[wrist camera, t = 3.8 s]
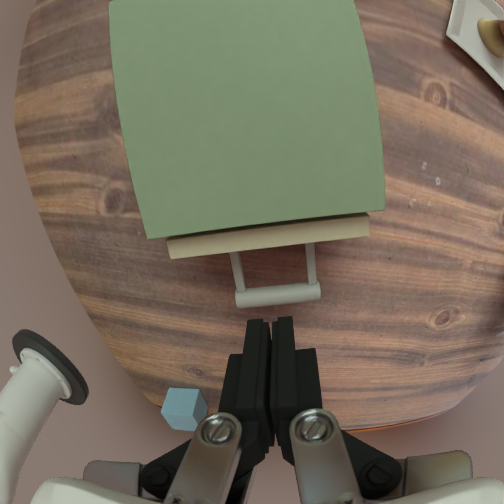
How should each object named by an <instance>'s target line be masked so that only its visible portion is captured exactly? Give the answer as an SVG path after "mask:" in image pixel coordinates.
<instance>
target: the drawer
mask: <svg viewBox="0 0 504 504" xmlns="http://www.w3.org/2000/svg"><path fill="white" fill-rule="evenodd" d="M369 235H370V220H369V215H368V214H367V213H366V212H361V213H351V214H342V215H332V216H323V217H314V218H305V219H296V220H288V221H279V222H271V223H263V224H255V225H248V226H240V227H232V228H225V229H218V230H210V231H203V232H196V233H189V234H182V235H176V236H169V238H168V239H167V240H166V244H167V248H168V251H169V255H170V258H171V259H177V258H186V257H194V256H203V255H211V254H220V253H228V252H229V255H230V260H231V265H232V269H233V274H234V279H235V283H236V288H237V290H236V291H235V302H236V306H237V308H250V307H261V306H272V305H282V304H291V303H300V302H309V301H317V300H321V291H320V284H319V281H317V278H316V261H315V247H314V242H322V241H331V240H339V239H348V238H357V237H365V236H369ZM296 244H305V254H306V266H307V279H308V282H303V283H294V284H285V285H276V286H267V287H257V288H247V289H246V283H245V278H244V273H243V268H242V263H241V258H240V253H239V251H245V250H253V249H262V248H271V247H279V246H288V245H296Z"/></svg>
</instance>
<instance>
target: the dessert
mask: <svg viewBox="0 0 504 504" xmlns="http://www.w3.org/2000/svg"><path fill="white" fill-rule="evenodd" d="M446 35H447V36H448V37H449V38H450V39H452V40H453V41H454V42H455V43H456V44H458V45H459V46H460V47H461V48H462V49H463V50H464V51H466V52H467V53H468V54H469V55H470V56H471V57H472V58H473V59H474V60H475V61H476V62H477V63H478V64H479V65H480V66H481V67H482V68H483V69H484V70H485V71H486V72H487V73H488V74H489V75H490V76H491V77H492V78H493V79H494V80H495V81H496V82H497V83H498V84H499V86H500V87H501V88H502V89H503V90H504V10H503V9H502V7H501V6H500V5H499V4H498V3H497V2H496V1H495V0H454V3H453V8H452V12H451V16H450V21H449V25H448V28H447V32H446Z"/></svg>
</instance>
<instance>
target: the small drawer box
mask: <svg viewBox="0 0 504 504" xmlns="http://www.w3.org/2000/svg"><path fill="white" fill-rule="evenodd" d="M109 28H110V44H111V56H112V67H113V76H114V84H115V92H116V99H117V106H118V112H119V118H120V124H121V130H122V135H123V140H124V146H125V151H126V155H127V160H128V165H129V169H130V174H131V178H132V182H133V187H134V191H135V195H136V199H137V203H138V206H139V210H140V214H141V218H142V221H143V225H144V228H145V232H146V235H147V239H148V240H149V239H156V238H162V237H169V236H176V235H182V234H189V233H196V232H203V231H210V230H218V229H225V228H232V227H240V226H248V225H255V224H263V223H271V222H279V221H288V220H296V219H305V218H314V217H323V216H332V215H342V214H351V213H361V212H372V211H382V210H385V179H384V161H383V148H382V137H381V127H380V119H379V111H378V104H377V97H376V91H375V85H374V80H373V74H372V69H371V64H370V60H369V55H368V51H367V46H366V42H365V38H364V34H363V30H362V27H361V23H360V20H359V16H358V13H357V9H356V6H355V3H354V0H114V1H111V2H109Z"/></svg>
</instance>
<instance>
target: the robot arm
mask: <svg viewBox="0 0 504 504" xmlns="http://www.w3.org/2000/svg"><path fill="white" fill-rule="evenodd" d="M20 358H21V361H22V364H21V365H20V367H16V366H11V367H10V372H11V373H12V374H13V376H12V377H11V379H10V380H9V381H8V383H7V384H6V385H5V387H4V388H3V390H2V391H1V393H0V504H11V503H12V502H13V499H14V496H15V492H16V487H17V483H18V479H19V475H20V471H21V469H22V466H23V464H24V462H25V460H26V458H27V455H28V454H29V451H30V450H31V448H32V446H33V444H34V442H35V440H36V438H37V437H38V435H39V432H40V431H41V429H42V427H43V426H44V424H45V422H46V420H47V419H48V417H49V415H50V413H51V412H52V410H53V408H54V407H55V405H56V403H57V402H58V400H59V398H63V399H68V398H69V397H70V396H71V394H72V388H71V386H70V384H69V382H68V381H67V379H66V378H65V376H64V375H63V374H62V373H61V372H60V371H59V370H58V368H57V367H56V366H55V365H53V364H52V363H51V362H50V361H49V360H48V359H47V358H45V357H44V356H43V355H41V354H40V353H38V352H37V351H35V350H33V349H30V348H24V349H23V350H22V351H21V352H20ZM275 433H276V438H277V442H278V446H281V450H282V455H283V458H284V459H285V460H286V461H287V462H289V463H290V464H291V465H293V466H294V469H295V474H296V480H297V485H298V491H299V496H300V502H301V504H504V484H503V483H502V482H501V481H500V480H498V479H495V478H491V477H477V478H473V472H472V461H471V457H470V456H469V454H468V453H467V452H464V451H462V450H455V451H450V452H443V453H437V454H429V455H421V456H411V457H407V458H406V459H394V458H393V457H391V456H389V455H387V454H385V453H383V452H381V451H379V450H377V449H375V448H373V447H371V446H369V445H368V444H366V443H364V442H362V441H360V440H358V439H357V438H355V437H353V436H351V435H350V434H348V433H346V432H345V431H343V430H341V429H340V427H339V424H338V421H337V419H336V417H335V416H334V415H333V414H332V413H330V412H329V411H326V410H324V409H323V407H322V398H321V389H320V380H319V372H318V365H317V357H316V350H315V348H310V349H300V350H295V340H294V329H293V319H292V316H287V317H278V321H274V322H272V340H271V334H270V328H269V323H268V322H263V319H252V320H248V321H247V328H246V335H245V341H244V348H243V354H230V356H229V359H228V364H227V369H226V374H225V379H224V384H223V389H222V394H221V400H220V405H219V410H218V412H217V413H213V414H210V415H208V416H206V417H204V418H203V419H202V420H201V421H200V422H199V424H198V426H197V428H196V430H195V432H194V435H193V437H192V439H190V440H189V441H187V442H185V443H183V444H182V445H180V446H179V447H177V448H175V449H173V450H172V451H170V452H168V453H166V454H164V455H163V456H161V457H159V458H157V459H155V460H153V461H152V462H150V463H148V464H147V465H142V464H140V463H132V462H113V461H112V462H111V461H100V460H96V461H92V462H90V463H88V465H87V466H86V467H85V470H84V473H83V480H82V479H77V478H69V477H58V478H52V479H49V480H47V481H45V482H44V483H43V484H42V485H41V486H40V487H39V488H38V490H37V492H36V493H35V495H34V497H33V499H32V501H31V503H30V504H247V501H248V498H249V495H250V491H251V488H252V484H253V481H254V477H255V474H256V470H257V464H258V463H260V462H261V461H262V460H264V459H265V453H269V446H274V441H275Z"/></svg>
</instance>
